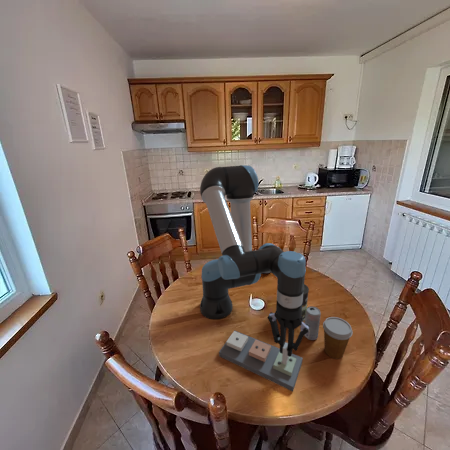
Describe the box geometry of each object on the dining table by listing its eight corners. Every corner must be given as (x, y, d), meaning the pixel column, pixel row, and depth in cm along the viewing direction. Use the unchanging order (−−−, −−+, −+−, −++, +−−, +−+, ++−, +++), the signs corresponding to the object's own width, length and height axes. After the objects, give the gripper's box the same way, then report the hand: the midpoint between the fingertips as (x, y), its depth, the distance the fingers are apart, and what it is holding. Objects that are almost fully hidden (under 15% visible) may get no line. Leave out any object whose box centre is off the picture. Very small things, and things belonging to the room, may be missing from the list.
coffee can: (304, 308, 110) (307, 281, 106) (307, 324, 101) (310, 295, 96) (282, 305, 112) (283, 280, 108) (282, 321, 103) (284, 293, 98)
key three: (273, 372, 80) (273, 364, 79) (278, 358, 85) (279, 351, 83) (290, 380, 77) (291, 372, 76) (295, 365, 82) (296, 358, 80)
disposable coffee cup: (324, 337, 94) (328, 312, 90) (351, 349, 88) (356, 323, 84) (316, 353, 87) (319, 327, 83) (344, 367, 81) (349, 340, 77)
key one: (226, 348, 88) (226, 341, 87) (234, 337, 93) (234, 330, 92) (241, 355, 85) (241, 347, 84) (248, 343, 90) (248, 336, 89)
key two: (248, 358, 84) (248, 351, 83) (255, 346, 89) (255, 339, 87) (264, 365, 81) (265, 358, 80) (270, 353, 86) (271, 345, 85)
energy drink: (314, 330, 97) (317, 305, 94) (320, 340, 92) (323, 314, 88) (301, 330, 97) (304, 306, 93) (306, 340, 92) (309, 315, 88)
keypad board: (219, 356, 87) (218, 352, 86) (234, 334, 97) (234, 330, 96) (292, 391, 74) (293, 387, 73) (302, 362, 84) (302, 357, 83)
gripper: (264, 302, 72) (262, 361, 79) (308, 316, 65) (302, 379, 73) (272, 289, 78) (270, 345, 86) (314, 301, 72) (307, 360, 79)
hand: (285, 360), depth 79 cm, fingers closed
